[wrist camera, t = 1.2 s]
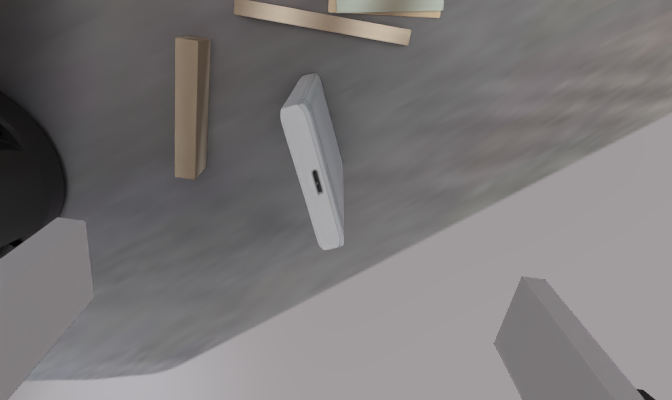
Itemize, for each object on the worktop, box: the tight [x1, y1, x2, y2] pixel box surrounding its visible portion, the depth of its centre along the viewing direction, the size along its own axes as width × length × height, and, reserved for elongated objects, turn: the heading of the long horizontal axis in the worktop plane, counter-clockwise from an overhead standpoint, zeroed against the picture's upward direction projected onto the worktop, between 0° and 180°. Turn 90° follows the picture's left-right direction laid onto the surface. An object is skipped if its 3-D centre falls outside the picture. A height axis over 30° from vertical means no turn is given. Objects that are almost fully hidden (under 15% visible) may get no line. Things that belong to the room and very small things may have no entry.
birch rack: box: [175, 0, 411, 180], centre depth 30 cm, size 16×13×3 cm
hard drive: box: [280, 73, 344, 250], centre depth 26 cm, size 2×8×12 cm, turn 14°
